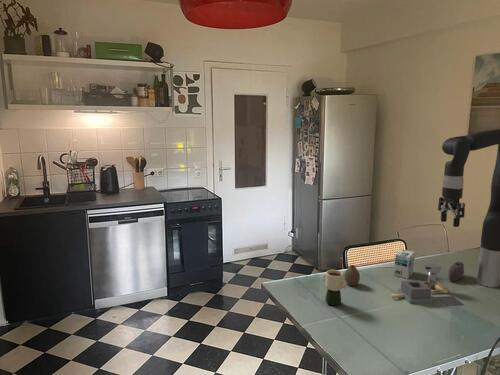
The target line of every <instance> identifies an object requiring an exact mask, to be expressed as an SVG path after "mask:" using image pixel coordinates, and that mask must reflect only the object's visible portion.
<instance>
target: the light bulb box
mask: <svg viewBox="0 0 500 375" xmlns="http://www.w3.org/2000/svg"><path fill="white" fill-rule="evenodd" d="M415 255H416V252H415V251H411V250H407V249H403V248H401V249H400V250H399V251H398V252H396V253H395V255H394V256H395V257H394V269H393V276H396V277H399V278H403V279H407V280H409V278H410V277H411V275H413V273H414V268H415V267H414V265H415Z"/></svg>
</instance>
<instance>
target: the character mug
mask: <svg viewBox="0 0 500 375" xmlns="http://www.w3.org/2000/svg"><path fill="white" fill-rule="evenodd" d="M344 274H345V272H343V271H342V270H338V269H329V270H327V271H326V272H325V273H323V274H322V281H323V282H325V283H324V284H325V288H326V295H325V303H327V304H328V305H331V306H336V305H340V304H342V295H341V291H342V290H343V289H347V285H348V284H347V282H346V281H345V280H344Z"/></svg>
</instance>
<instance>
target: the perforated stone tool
mask: <svg viewBox="0 0 500 375" xmlns="http://www.w3.org/2000/svg"><path fill="white" fill-rule="evenodd" d="M464 267H465V265H464V263H463V262H461V261H456V262H455V263H452V265H451V266H450V267H449V269H448V274H447V278H448V281H449V282H451V283H452V282H456V281H458V280H459V279H461V277H463V275H464V273H465V269H464Z"/></svg>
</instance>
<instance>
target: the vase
mask: <svg viewBox="0 0 500 375" xmlns="http://www.w3.org/2000/svg"><path fill="white" fill-rule="evenodd" d="M360 279H361V275H360V272H359V270H358V269H357V268H356V265H354V264H351V265H349V266H348V268H346V270H345V271H344V280H345V281H346V282H347V285H348V286H349V287H355V286H357V285H358V284H359V283H360Z"/></svg>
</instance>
